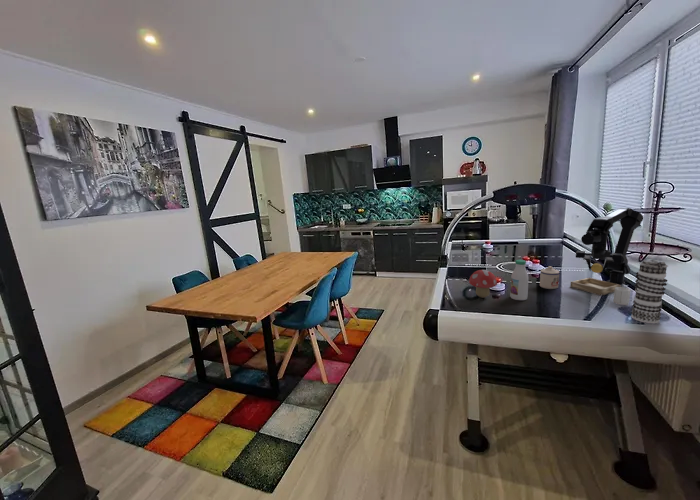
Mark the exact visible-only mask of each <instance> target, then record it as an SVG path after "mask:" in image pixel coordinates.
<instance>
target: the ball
mask: <svg viewBox="0 0 700 500" xmlns="http://www.w3.org/2000/svg"><path fill="white" fill-rule="evenodd" d="M603 266H604V265H602V264H600V263H593V264H591V271H592V272H593V273H594V274H600V273H602V272H603Z"/></svg>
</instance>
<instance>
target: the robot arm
mask: <svg viewBox="0 0 700 500" xmlns="http://www.w3.org/2000/svg"><path fill="white" fill-rule="evenodd" d="M643 220H644V216H643V214H641V212H639V211H635V210H633V208H630V207H618V208H617V210H615V211H613V212H611V213H609V214H607V215H605V216H601V217H600V216H598V217H596V218H593V220H592V221H591V222H590V224H589V226H588V228H587V230H586V232H585V234H583V235H582V237H580V238H581V239H580V240H581V242H582V243H583V245H585V246H592V247H591V252H586V250H577V251H575V258H576V259H582V260H584V261H586V264H587V267H588V270H589V271H590V272H591V271H592V270H591V266H592V264H591V259H592V260H601V261H603V260H604V264H603V265H602V266H603V270H602V273H604V272H605V271H607V272H610V276H609V279H608V280H606V282H610V283H614V284H619V285H626V283H625V282H626V281H625V275H629V274H630V272H631V270H632V269H631V268H630V266H629V265H628V264H629V260H628V257H627V253H628V250H629V248H630V243H631V240H632V238H633V234H634V231H635V230H636V229H637V228H639V227H640V225H641V224H642V222H643ZM616 222H619V223H620V225H621V231H620V235H619V237H618V240H617V244H616V247H615V250H614V252H612V253H611V249H607V247H608V237H609V235H608V234H610V233H611V231H610V230H611V228H612V227H614V223H616Z"/></svg>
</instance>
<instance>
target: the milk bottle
mask: <svg viewBox="0 0 700 500" xmlns="http://www.w3.org/2000/svg"><path fill="white" fill-rule="evenodd" d="M514 262H515V263H514V264H515V268H514V269H513V270H512V273H511V276H510V291H509V292H510V293H509V295H510V296H509V297H510V299H513V300H515V301H526V300H528V293H529V292H528V291H529V274H528V271H527V269H526V265H527V261H526V260H524V259H516V260H515V261H514Z"/></svg>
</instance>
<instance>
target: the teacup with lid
mask: <svg viewBox="0 0 700 500" xmlns="http://www.w3.org/2000/svg"><path fill="white" fill-rule="evenodd" d="M539 273H540V277H539V286H540V287H541V288H543V289H546V290H547V289H548V290H556V289H558V288H559V284H560V270H558V269H555V268H553V266H550V265H549V266H547V267H546V268H542V269H541V270H540V271H539Z"/></svg>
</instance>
